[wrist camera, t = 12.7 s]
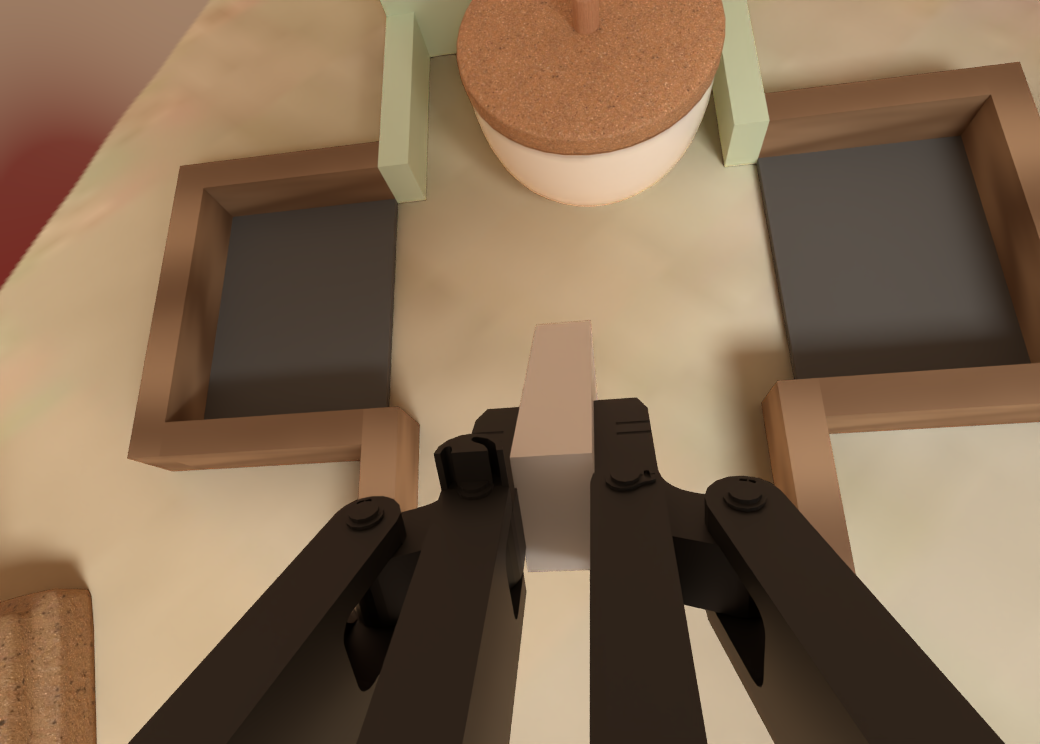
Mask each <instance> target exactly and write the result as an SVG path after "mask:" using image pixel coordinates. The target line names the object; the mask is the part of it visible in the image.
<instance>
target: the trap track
mask: <svg viewBox="0 0 1040 744" xmlns="http://www.w3.org/2000/svg"><path fill="white" fill-rule="evenodd" d="M471 1H472V0H380V2H381V4H382V7H383V9H384V11H385V14H386V33H385V50H384V68H383V85H382V102H381V119H380V136H379V141H378V142H370V143H362V144H354V145H346V146H338V147H330V148H322V149H314V150H306V151H298V152H290V153H282V154H274V155H266V156H258V157H249V158H241V159H233V160H225V161H217V162H209V163H201V164H193V165H185V166H180V169H179V175H178V181H177V186H176V192H175V197H174V203H173V208H172V214H171V219H170V225H169V230H168V236H167V241H166V247H165V252H164V258H163V263H162V269H161V274H160V280H159V286H158V291H157V297H156V302H155V308H154V313H153V319H152V324H151V330H150V335H149V341H148V346H147V352H146V357H145V363H144V368H143V374H142V379H141V385H140V391H139V396H138V402H137V407H136V413H135V418H134V424H133V429H132V435H131V440H130V446H129V451H128V457H127V459H131V460H135V461H138V462H142V463H145V464H149V465H152V466H156V467H159V468H163V469H166V470H170V471H187V470H204V469H222V468H239V467H257V466H274V465H292V464H309V463H327V462H344V461H360V478H359V495H358V499H361V498H365V497H370V496H385V497H389V498H392V499H394V500H395V501H396V502H397V503H398V504H399V505H400V508H401V512H404V511H408V510H412V509H416V508H417V502H418V466H419V431H420V425H419V424H418V423H417V422H416V421H415V420H414V419H412V418H411V417H410V416H409V415H408V414H407V413H405V412H404V411H403V410H402V409H401V408H400V407H389V393H390V371H391V349H392V326H393V304H394V282H395V260H396V237H397V215H398V203H404V202H413V201H422V200H426V181H427V145H428V110H429V74H430V57H434V56H441V55H448V54H455V53H457V38H458V33H459V27H460V25H461V22H462V19H463V17H464V14H465V12H466V9H467V8H468V6H469V4H470V3H471ZM722 3H723V8H724V13H725V18H726V21H725V40H724V45H723V50H722V54H721V59H720V63H719V67H718V69H717V72H716V74H715V76H714V81H713V85H712V90H713V97H714V103H715V110H716V116H717V122H718V129H719V135H720V142H721V148H722V154H723V161H724V167H729V166H738V165H747V164H757V170H758V175H759V181H760V187H761V192H762V198H763V204H764V209H765V215H766V221H767V226H768V232H769V238H770V243H771V249H772V255H773V260H774V266H775V272H776V277H777V283H778V289H779V294H780V300H781V306H782V311H783V317H784V323H785V328H786V334H787V340H788V345H789V351H790V357H791V362H792V368H793V374H794V379H795V380H781V381H777V382H776V383H775V385H774V386H773V387H772V389H771V390H770V392H769V393H768V394H767V396H766V397H765V399H764V400H763V401H762V403H761V404H762V410H763V417H764V423H765V429H766V436H767V442H768V449H769V455H770V461H771V468H772V474H773V481H774V485H775V486H776V487H777V488H779V489H780V490H781V491H782V492H783V493H784V494H785V495H786V496H787V498H788V499H789V500H790V501H791V502H792V503H793V504H794V505H795V507H796V508H797V509H798V510H799V511H800V512H801V513H802V514H803V516H804V517H805V518H806V519H807V520H808V521H809V522H810V524H811V525H812V526H813V527H814V528H815V529H816V530H817V531H818V533H819V534H820V535H821V536H822V537H823V538H824V539H825V541H826V542H827V543H828V544H829V545H830V546H831V547H832V548H833V550H834V551H835V552H836V553H837V554H838V555H839V556H840V557H841V559H842V560H843V561H844V562H845V563H846V564H847V565H848V567H849V568H850V569H851V570H852V571H853V572H854V573H855V568H854V563H853V558H852V552H851V547H850V542H849V537H848V531H847V526H846V521H845V516H844V510H843V505H842V500H841V494H840V489H839V484H838V479H837V473H836V468H835V463H834V458H833V452H832V447H831V442H830V436H829V434H835V433H853V432H870V431H888V430H906V429H923V428H941V427H958V426H976V425H993V424H1011V423H1028V422H1040V117H1039V114H1038V111H1037V108H1036V106H1035V103H1034V100H1033V97H1032V95H1031V92H1030V89H1029V86H1028V84H1027V81H1026V78H1025V75H1024V73H1023V70H1022V67H1021V64H1020V62H1014V63H1006V64H998V65H990V66H982V67H974V68H966V69H958V70H950V71H942V72H934V73H925V74H917V75H909V76H901V77H893V78H885V79H877V80H869V81H861V82H853V83H845V84H837V85H829V86H821V87H813V88H805V89H797V90H789V91H781V92H773V93H765V94H764V88H763V83H762V78H761V73H760V67H759V62H758V57H757V52H756V46H755V41H754V36H753V31H752V25H751V20H750V15H749V9H748V4H747V0H722ZM354 609H355V608H354ZM352 612H353V611H352Z"/></svg>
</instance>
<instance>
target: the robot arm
mask: <svg viewBox="0 0 1040 744" xmlns="http://www.w3.org/2000/svg"><path fill="white" fill-rule="evenodd" d="M434 458H435V462H436V467H437V472H438V476H439V481H440V485H441V493H440V496H439V499H438V501H436V502H434V503H432V504H429V505H426V506H423V507H419V508H416V509H412V510H408V511H404V512H401V508H400V505H399V504H398V503H397V502H396V501H395V500H394V499H392V498H389V497H385V496H370V497H365V498H361V499H358V500H356V501H354V502H352V503H350V504H348V505H346V506H344V507H343V508H342V509H341V510H339V511H338V512H337V513H336V514H335V515H334V516H333V517H332V518H331V519H330V520H329V521H328V523H327V524H326V525H325V526H324V527H323V528H322V529H321V530H320V531H319V533H318V534H317V535H316V536H315V537H314V538H313V539H312V540H311V541H310V543H309V544H308V545H307V546H306V547H305V548H304V549H303V550H302V551H301V553H300V554H299V555H298V556H297V557H296V558H295V559H294V560H293V561H292V562H291V564H290V565H289V566H288V567H287V568H286V569H285V570H284V571H283V572H282V574H281V575H280V576H279V577H278V578H277V579H276V580H275V581H274V582H273V584H272V585H271V586H270V587H269V588H268V589H267V590H266V591H265V592H264V593H263V595H262V596H261V597H260V598H259V599H258V600H257V601H256V602H255V603H254V605H253V606H252V607H251V608H250V609H249V610H248V611H247V612H246V613H245V615H244V616H243V617H242V618H241V619H240V620H239V621H238V622H237V623H236V624H235V626H234V627H233V628H232V629H231V630H230V631H229V632H228V633H227V634H226V636H225V637H224V638H223V639H222V640H221V641H220V642H219V643H218V644H217V646H216V647H215V648H214V649H213V650H212V651H211V652H210V653H209V654H208V656H207V657H206V658H205V659H204V660H203V661H202V662H201V663H200V664H199V665H198V667H197V668H196V669H195V670H194V671H193V672H192V673H191V674H190V675H189V677H188V678H187V679H186V680H185V681H184V682H183V683H182V684H181V685H180V687H179V688H178V689H177V690H176V691H175V692H174V693H173V694H172V695H171V696H170V698H169V699H168V700H167V701H166V702H165V703H164V704H163V705H162V706H161V708H160V709H159V710H158V711H157V712H156V713H155V714H154V715H153V716H152V718H151V719H150V720H149V721H148V722H147V723H146V724H145V725H144V726H143V727H142V729H141V730H140V731H139V732H138V733H137V734H136V735H135V736H134V737H133V739H132V740H131V741H130V742H129V743H128V744H509V740H510V731H511V723H512V714H513V705H514V696H515V687H516V679H517V670H518V661H519V652H520V643H521V634H522V626H523V617H524V608H525V599H526V586H525V580H524V573H523V569H524V561H525V556H526V562H527V569H528V572H543V571H575V570H590V744H707V738H706V732H705V726H704V720H703V715H702V709H701V703H700V697H699V691H698V685H697V679H696V673H695V667H694V662H693V656H692V650H691V644H690V638H689V632H688V626H687V620H686V615H685V609H684V605H688V606H692V607H697V608H701V609H705V610H706V613H707V617H708V620H709V622H710V624H711V626H712V628H713V629H714V631H715V633H716V635H717V637H718V639H719V641H720V642H721V644H722V646H723V648H724V650H725V652H726V654H727V656H728V657H729V659H730V661H731V663H732V665H733V667H734V669H735V670H736V672H737V674H738V676H739V678H740V680H741V682H742V684H743V685H744V687H745V689H746V691H747V693H748V695H749V697H750V699H751V700H752V702H753V704H754V706H755V708H756V710H757V712H758V713H759V715H760V717H761V719H762V721H763V723H764V725H765V727H766V728H767V730H768V732H769V734H770V736H771V738H772V740H773V741H774V743H775V744H1005V743H1004V742H1003V741H1002V740H1001V739H1000V737H999V736H998V735H997V734H996V733H995V732H994V731H993V729H992V728H991V727H990V726H989V725H988V724H987V723H986V722H985V720H984V719H983V718H982V717H981V716H980V715H979V714H978V713H977V711H976V710H975V709H974V708H973V707H972V706H971V705H970V703H969V702H968V701H967V700H966V699H965V698H964V697H963V696H962V694H961V693H960V692H959V691H958V690H957V689H956V688H955V686H954V685H953V684H952V683H951V682H950V681H949V680H948V679H947V677H946V676H945V675H944V674H943V673H942V672H941V671H940V670H939V668H938V667H937V666H936V665H935V664H934V663H933V662H932V660H931V659H930V658H929V657H928V656H927V655H926V654H925V653H924V651H923V650H922V649H921V648H920V647H919V646H918V645H917V643H916V642H915V641H914V640H913V639H912V638H911V637H910V636H909V634H908V633H907V632H906V631H905V630H904V629H903V628H902V627H901V625H900V624H899V623H898V622H897V621H896V620H895V619H894V617H893V616H892V615H891V614H890V613H889V612H888V611H887V610H886V608H885V607H884V606H883V605H882V604H881V603H880V602H879V600H878V599H877V598H876V597H875V596H874V595H873V594H872V593H871V591H870V590H869V589H868V588H867V587H866V586H865V585H864V584H863V582H862V581H861V580H860V579H859V578H858V577H857V576H856V574H855V573H854V572H853V571H852V570H851V569H850V568H849V567H848V565H847V564H846V563H845V562H844V561H843V560H842V559H841V557H840V556H839V555H838V554H837V553H836V552H835V551H834V550H833V548H832V547H831V546H830V545H829V544H828V543H827V542H826V541H825V539H824V538H823V537H822V536H821V535H820V534H819V533H818V531H817V530H816V529H815V528H814V527H813V526H812V525H811V524H810V522H809V521H808V520H807V519H806V518H805V517H804V516H803V514H802V513H801V512H800V511H799V510H798V509H797V508H796V507H795V505H794V504H793V503H792V502H791V501H790V500H789V499H788V498H787V496H786V495H785V494H784V493H783V492H782V491H781V490H780V489H779V488H777V487H776V486H775V485H773V484H772V483H770V482H767V481H765V480H762V479H760V478H755V477H748V476H732V477H726V478H723V479H720V480H717V481H715V482H714V483H713V484H712V485H710V486H709V487H708V488H707V491H706V494H700V493H693V492H689V491H685V490H681V489H679V488H676V487H674V486H672V485H671V484H669V483H668V482H666V481H665V480H664V479H663V478H662V477H661V475H660V473H659V471H658V467H657V461H656V455H655V449H654V443H653V438H652V433H651V426H650V420H649V414H648V408H647V407H646V406H645V405H644V404H643V403H642V402H641V401H640V400H639V399H638V398H623V399H608V400H598V396H597V385H596V373H595V362H594V350H593V339H592V328H591V320H585V321H574V322H562V323H550V324H539V325H536V327H535V332H534V337H533V342H532V347H531V352H530V357H529V363H528V368H527V373H526V378H525V383H524V388H523V393H522V398H521V403H520V407H514V408H499V409H487V410H486V411H485V412H484V413H483V414H482V415H481V416H480V417H479V418H478V419H477V420H476V422H475V425H474V428H473V431H472V434H467V435H461V436H458V437H455V438H453V439H450V440H448V441H446V442H445V443H443V444H442V445H441V446H439V447H438V449H437V450H436V451H435V453H434ZM354 608H355V609H354ZM352 611H353V612H352Z"/></svg>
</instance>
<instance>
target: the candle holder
mask: <svg viewBox="0 0 1040 744" xmlns="http://www.w3.org/2000/svg"><path fill="white" fill-rule="evenodd" d="M0 744H96V712H95V671H94V631H93V616H92V603H91V596H90V594H89V591H88V590H85V589H52V590H47V591H42V592H38V593H34V594H29V595H25V596H20V597H17V598H14V599H10V600H7V601H4V602H0Z"/></svg>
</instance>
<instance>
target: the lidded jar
mask: <svg viewBox="0 0 1040 744" xmlns="http://www.w3.org/2000/svg"><path fill="white" fill-rule="evenodd" d="M725 21H726V18H725V13H724V8H723V3H722V0H472V1H471V3H470V4H469V6H468V8H467V9H466V12H465V14H464V17H463V19H462V22H461V25H460V27H459V33H458V38H457V63H458V67H459V72H460V76H461V80H462V83H463V86H464V88H465V90H466V93H467V95H468V97H469V99H470V102H471V104H472V106H473V109H474V112H475V114H476V117H477V120H478V122H479V124H480V127H481V129H482V131H483V133H484V136H485V137H486V139H487V141H488V143H489V145H490V147H491V149H492V150H493V152H494V153H495V154H496V156H497V157H498V159H499V160H500V161H501V163H502V164H503V166H504V167H505V168H506V170H507V171H508V172H509V173H510V174H511V175H512V176H513V177H515V178H516V179H517V180H518V181H519V182H520V183H522V184H523V185H524V186H526V187H527V188H528V189H530V190H531V191H533V192H534V193H536V194H538V195H540V196H543V197H545V198H547V199H550V200H553V201H556V202H559V203H563V204H567V205H574V206H601V205H608V204H612V203H616V202H620V201H623V200H625V199H628V198H630V197H633V196H635V195H637V194H639V193H641V192H643V191H644V190H646V189H648V188H649V187H651V186H653V185H654V184H655V183H657V182H658V181H659V180H660V179H662V178H663V177H664V176H665V175H666V174H667V173H668V172H669V171H670V170H671V169H672V168H673V166H674V165H675V164H676V163H677V162H678V161H679V160H680V159H681V158H682V156H683V155H684V153H685V152H686V150H687V149H688V147H689V146H690V144H691V142H692V140H693V138H694V136H695V135H696V133H697V130H698V128H699V126H700V123H701V121H702V119H703V116H704V113H705V111H706V108H707V105H708V102H709V98H710V94H711V90H712V85H713V81H714V76H715V74H716V72H717V69H718V67H719V63H720V59H721V54H722V50H723V45H724V40H725Z"/></svg>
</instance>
